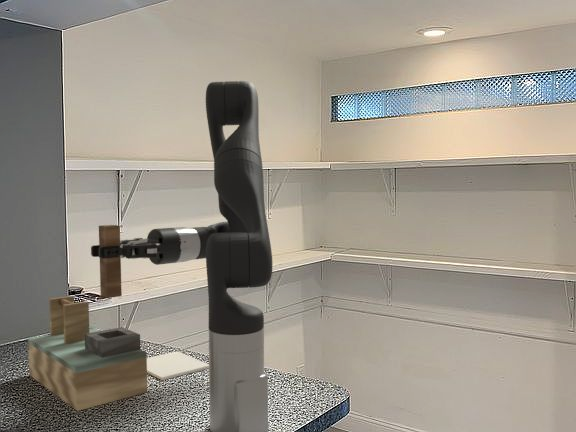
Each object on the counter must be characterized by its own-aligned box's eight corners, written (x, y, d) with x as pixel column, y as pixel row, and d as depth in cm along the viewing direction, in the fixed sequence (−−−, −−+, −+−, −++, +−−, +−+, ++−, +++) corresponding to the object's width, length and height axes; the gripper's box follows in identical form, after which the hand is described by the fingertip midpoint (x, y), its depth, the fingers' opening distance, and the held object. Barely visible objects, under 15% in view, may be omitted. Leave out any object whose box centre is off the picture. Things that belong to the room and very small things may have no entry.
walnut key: (121, 296, 118) (119, 225, 117) (107, 298, 116) (105, 226, 115) (114, 294, 120) (113, 224, 119) (100, 296, 118) (98, 225, 117)
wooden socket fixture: (147, 392, 117) (145, 311, 116) (77, 411, 108) (74, 324, 107) (92, 361, 137) (90, 292, 136) (29, 375, 127) (26, 301, 126)
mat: (210, 367, 132) (210, 365, 132) (162, 380, 124) (162, 377, 124) (177, 353, 142) (177, 351, 142) (130, 364, 134) (130, 361, 134)
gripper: (156, 226, 132) (80, 230, 121) (191, 229, 121) (110, 235, 110) (157, 259, 132) (81, 267, 121) (191, 266, 122) (111, 275, 111)
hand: (96, 252), depth 116 cm, fingers closed on walnut key, 3 cm apart
